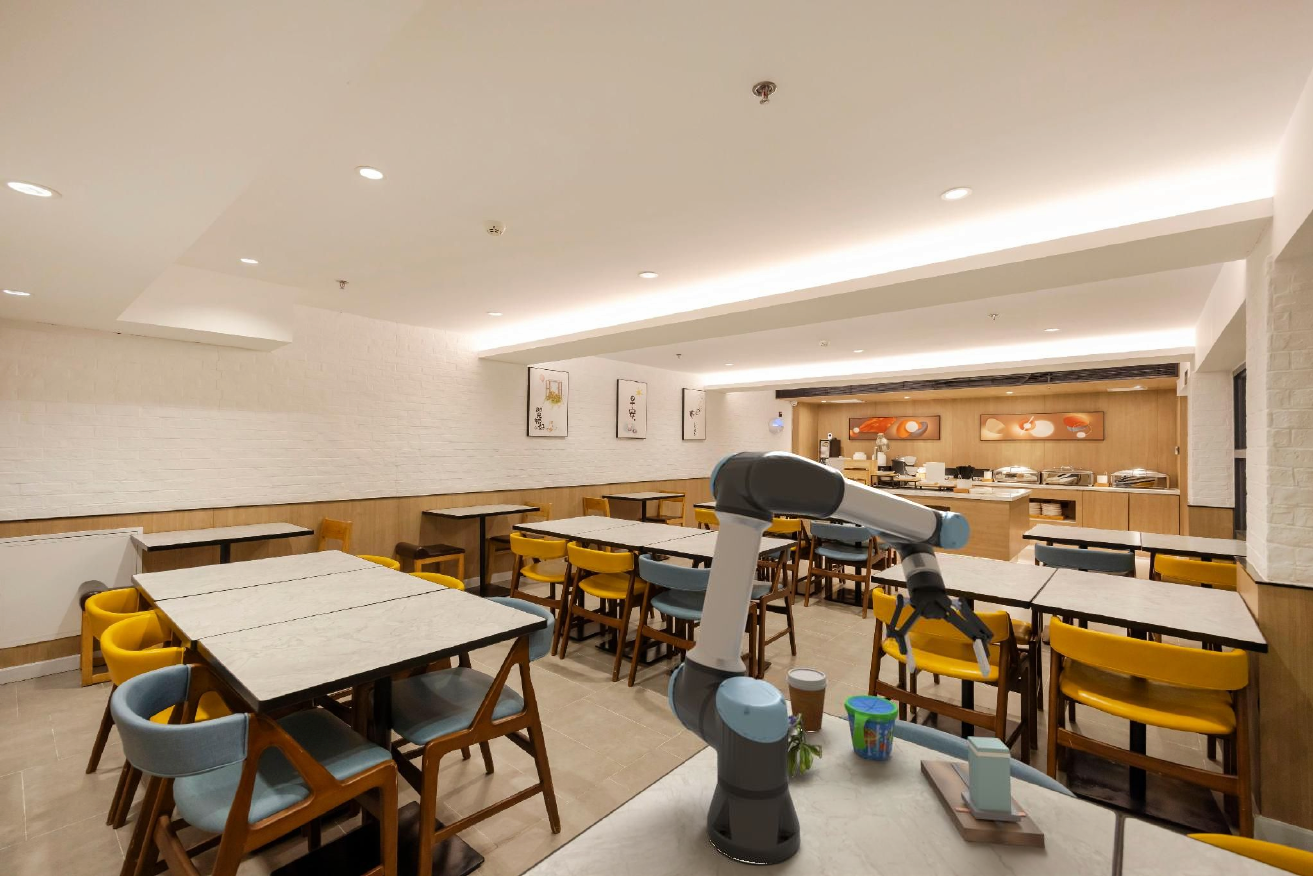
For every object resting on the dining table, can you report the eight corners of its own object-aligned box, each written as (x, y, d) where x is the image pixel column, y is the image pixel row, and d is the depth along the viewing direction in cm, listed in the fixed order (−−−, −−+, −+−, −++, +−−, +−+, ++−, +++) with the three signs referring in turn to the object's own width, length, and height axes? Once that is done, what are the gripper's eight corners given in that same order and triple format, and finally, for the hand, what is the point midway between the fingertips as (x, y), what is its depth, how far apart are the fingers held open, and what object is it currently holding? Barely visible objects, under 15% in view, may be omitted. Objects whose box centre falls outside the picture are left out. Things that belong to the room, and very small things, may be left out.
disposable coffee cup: (830, 737, 128) (829, 683, 129) (787, 733, 130) (786, 679, 131) (826, 719, 138) (825, 668, 138) (786, 716, 140) (785, 666, 140)
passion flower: (774, 786, 118) (761, 723, 126) (826, 778, 118) (810, 716, 125) (773, 778, 110) (759, 711, 117) (830, 770, 109) (812, 703, 116)
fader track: (964, 840, 93) (964, 826, 93) (920, 770, 114) (920, 758, 115) (1044, 847, 91) (1044, 832, 91) (984, 774, 113) (984, 763, 113)
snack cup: (865, 733, 131) (864, 687, 131) (911, 749, 123) (910, 700, 124) (830, 756, 120) (829, 707, 120) (879, 776, 112) (878, 722, 113)
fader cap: (975, 818, 94) (973, 750, 95) (961, 797, 100) (959, 733, 101) (1021, 822, 94) (1018, 752, 94) (1003, 801, 99) (1001, 736, 100)
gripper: (979, 591, 127) (1012, 685, 112) (862, 586, 131) (879, 676, 115) (989, 571, 122) (1025, 666, 107) (867, 567, 126) (885, 658, 110)
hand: (949, 672), depth 111 cm, fingers open, 13 cm apart
